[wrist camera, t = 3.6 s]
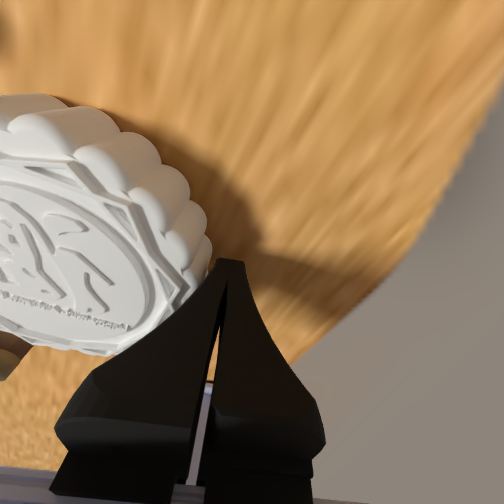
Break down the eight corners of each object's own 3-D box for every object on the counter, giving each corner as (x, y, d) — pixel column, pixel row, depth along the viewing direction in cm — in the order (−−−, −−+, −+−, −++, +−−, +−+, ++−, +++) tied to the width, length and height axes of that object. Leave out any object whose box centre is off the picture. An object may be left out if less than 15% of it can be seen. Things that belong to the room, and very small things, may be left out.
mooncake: (250, 173, 10) (245, 212, 7) (182, 333, 17) (165, 387, 14) (-93, 21, 8) (-308, -13, 5) (-15, 276, 14) (-87, 327, 11)
